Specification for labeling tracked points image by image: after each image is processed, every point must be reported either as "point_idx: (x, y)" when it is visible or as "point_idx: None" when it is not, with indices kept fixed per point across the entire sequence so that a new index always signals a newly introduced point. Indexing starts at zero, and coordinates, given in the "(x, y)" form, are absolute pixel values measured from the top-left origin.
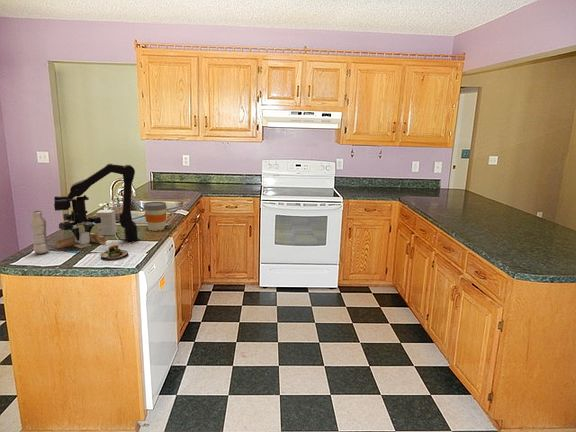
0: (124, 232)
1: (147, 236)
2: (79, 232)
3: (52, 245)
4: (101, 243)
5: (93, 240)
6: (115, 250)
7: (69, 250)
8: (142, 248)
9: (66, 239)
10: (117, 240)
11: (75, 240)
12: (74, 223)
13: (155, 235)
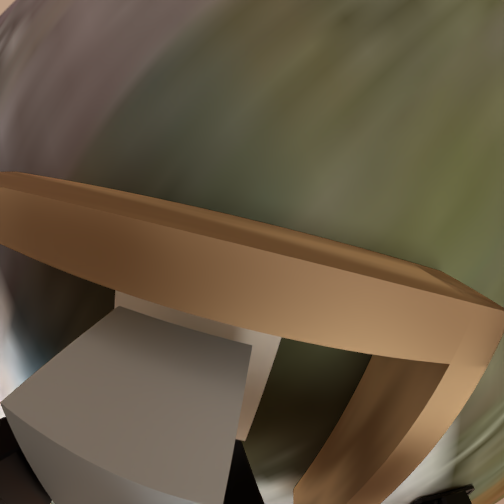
0: None
1: (491, 490)
2: (76, 498)
3: (59, 48)
4: (302, 484)
5: (364, 393)
6: None
7: (36, 346)
8: None
9: (3, 237)
10: (430, 475)
11: (107, 321)
12: None
13: (499, 492)
